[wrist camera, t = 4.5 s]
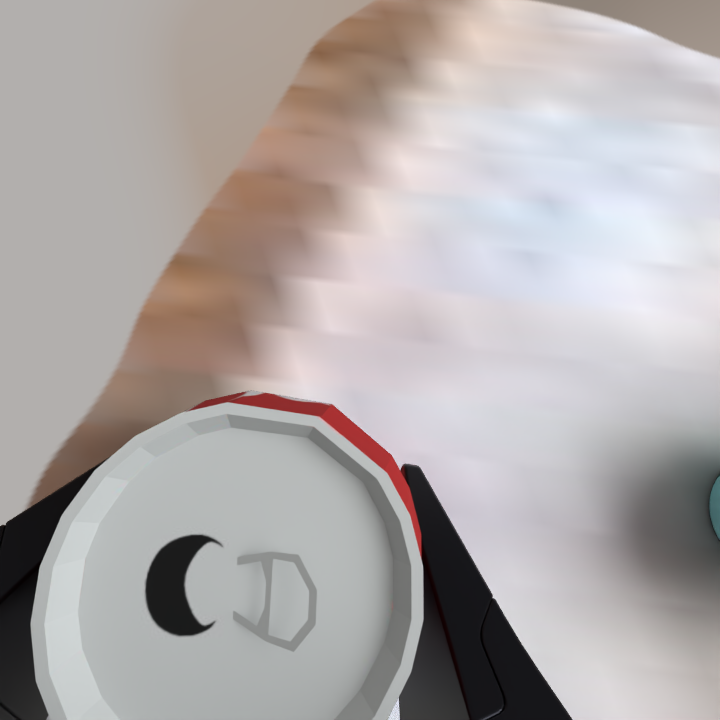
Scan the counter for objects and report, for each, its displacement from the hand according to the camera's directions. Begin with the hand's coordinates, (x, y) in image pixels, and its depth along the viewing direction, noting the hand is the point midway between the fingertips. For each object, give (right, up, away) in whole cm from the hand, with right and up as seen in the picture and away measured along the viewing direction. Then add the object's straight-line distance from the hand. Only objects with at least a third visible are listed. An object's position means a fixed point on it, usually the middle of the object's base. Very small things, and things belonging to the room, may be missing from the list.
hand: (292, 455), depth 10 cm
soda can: (-1, -3, +7) cm, 7 cm away
